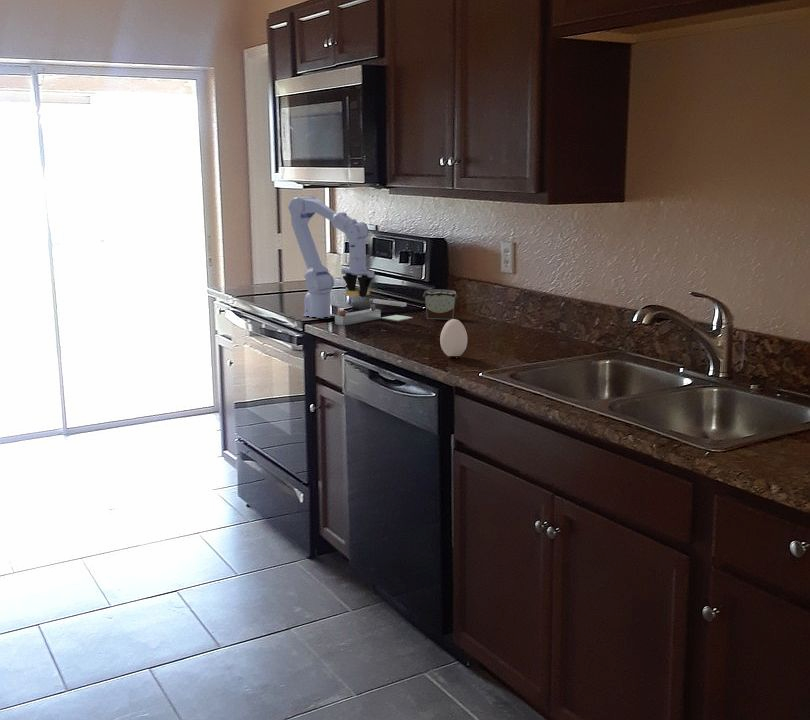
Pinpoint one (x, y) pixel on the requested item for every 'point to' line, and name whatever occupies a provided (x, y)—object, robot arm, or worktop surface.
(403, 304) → the lever
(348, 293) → the cap
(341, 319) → the plane body
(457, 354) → the egg
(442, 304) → the food container
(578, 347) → the worktop surface
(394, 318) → the mat
